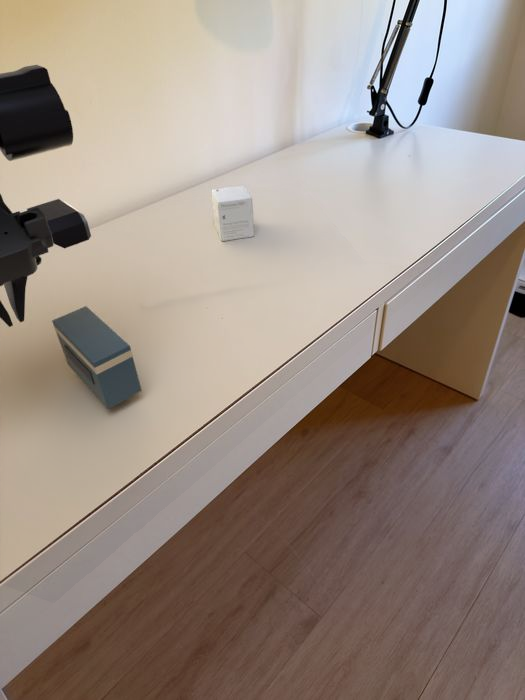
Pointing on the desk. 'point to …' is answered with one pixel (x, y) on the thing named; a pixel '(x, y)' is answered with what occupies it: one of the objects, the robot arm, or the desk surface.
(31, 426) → the desk surface
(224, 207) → the product box
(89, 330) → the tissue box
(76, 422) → the desk surface
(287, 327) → the desk surface
